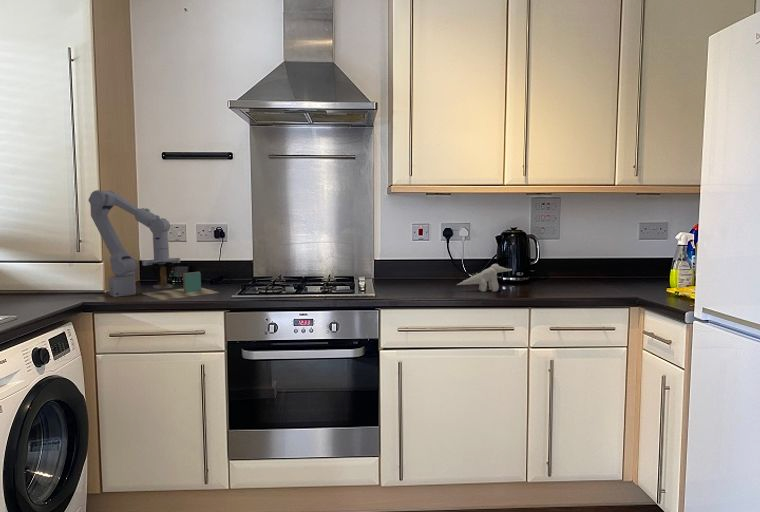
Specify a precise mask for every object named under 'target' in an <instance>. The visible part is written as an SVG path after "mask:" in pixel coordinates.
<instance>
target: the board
mask: <svg viewBox="0 0 760 512" xmlns="http://www.w3.org/2000/svg"><path fill="white" fill-rule="evenodd" d="M219 293H220V294H221V292H220V291H216V290H213V289H209V288H208V289H207V288H204V287H201V291H194V292H186V293H184V287H182V288H176V289H168V290H160V291H152V292H150V291H149V292H142V293H141V294H142V295H144V296H148V297H151V298H154V299H155V300H159V301H166V300H174V299H175V300H176V299H181V298H189V297H198V296H204V295H212V294H219Z"/></svg>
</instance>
